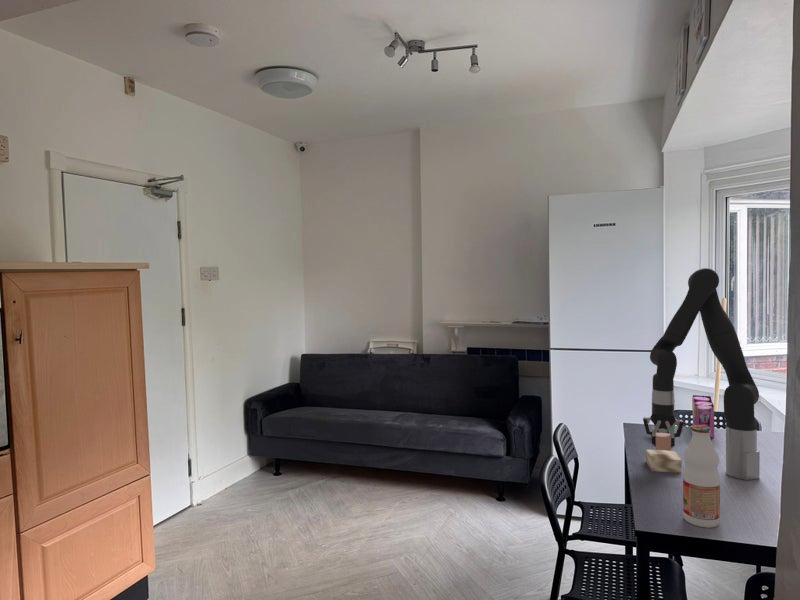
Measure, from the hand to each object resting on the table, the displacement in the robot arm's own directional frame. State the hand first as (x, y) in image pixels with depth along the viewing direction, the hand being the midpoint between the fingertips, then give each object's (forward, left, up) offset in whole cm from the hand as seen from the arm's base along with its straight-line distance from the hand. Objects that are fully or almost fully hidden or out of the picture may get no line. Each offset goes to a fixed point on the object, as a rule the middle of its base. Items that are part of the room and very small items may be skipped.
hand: (662, 446), depth 198 cm
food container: (+26, -27, -8) cm, 38 cm away
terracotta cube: (0, 0, -1) cm, 1 cm away
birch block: (0, 0, -8) cm, 8 cm away
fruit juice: (-38, +22, -8) cm, 45 cm away
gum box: (+29, -50, -8) cm, 58 cm away
